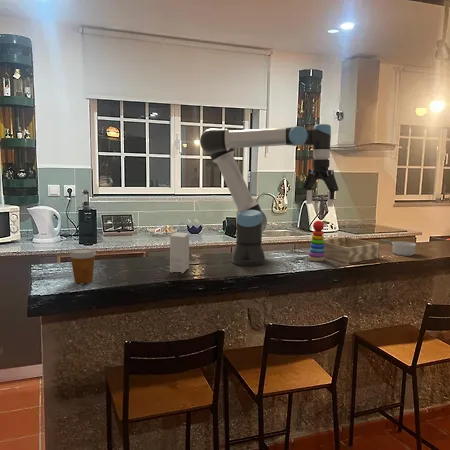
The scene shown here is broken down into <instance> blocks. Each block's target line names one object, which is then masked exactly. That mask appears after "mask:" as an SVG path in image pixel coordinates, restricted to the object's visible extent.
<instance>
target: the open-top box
mask: <svg viewBox="0 0 450 450" xmlns="http://www.w3.org/2000/svg"><path fill="white" fill-rule="evenodd" d="M323 240H324V243H323V244H324V249H325V251H324V253H325V255H324V256H325V259H326V258H327V259H331V260H334V261H339V262H343V263H345V264H351V263H357V262H363V260H364V261H369V260H376V259H380V251H381V250H380V249H381V243H378V242H372V241H368V240H363V239H358V238H352V237H347V236H341V237H333V238H323ZM375 258H376V259H375Z"/></svg>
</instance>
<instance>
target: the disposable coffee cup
mask: <svg viewBox="0 0 450 450" xmlns="http://www.w3.org/2000/svg"><path fill="white" fill-rule="evenodd" d="M96 255H97V252H96V251H95V249H93V248H87V247H85V248H84V247H83V248H82V247H81V248H73V249H72V250H70V252H69V255H68V256H69V257H70V261H71V267H72V274H73V278H74V283H75V282H76V283H75V284H77V283H87V284H89V283H88V282H91V281H92V282H93V278H94V269H95V257H96ZM92 282H91V283H92Z"/></svg>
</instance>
